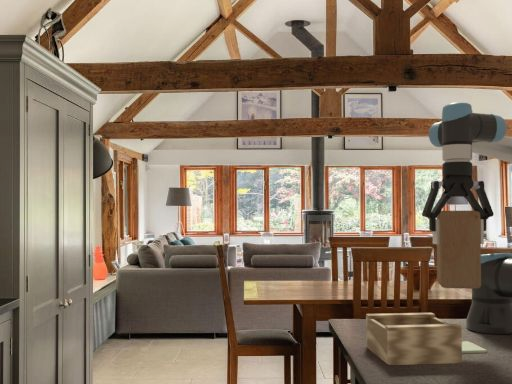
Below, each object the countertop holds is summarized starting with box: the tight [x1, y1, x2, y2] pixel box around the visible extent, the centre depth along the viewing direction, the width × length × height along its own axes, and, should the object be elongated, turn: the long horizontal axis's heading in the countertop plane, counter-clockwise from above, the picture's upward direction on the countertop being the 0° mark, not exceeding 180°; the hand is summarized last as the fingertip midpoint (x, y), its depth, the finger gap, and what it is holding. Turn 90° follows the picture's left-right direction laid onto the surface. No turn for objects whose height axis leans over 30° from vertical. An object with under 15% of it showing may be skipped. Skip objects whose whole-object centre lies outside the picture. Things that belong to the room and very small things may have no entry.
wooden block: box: [436, 210, 482, 290], centre depth 155 cm, size 10×10×20 cm
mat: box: [462, 340, 488, 354], centre depth 154 cm, size 10×10×1 cm
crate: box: [365, 312, 463, 366], centre depth 148 cm, size 18×18×9 cm
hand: (458, 243), depth 155 cm, fingers closed on wooden block, 11 cm apart
